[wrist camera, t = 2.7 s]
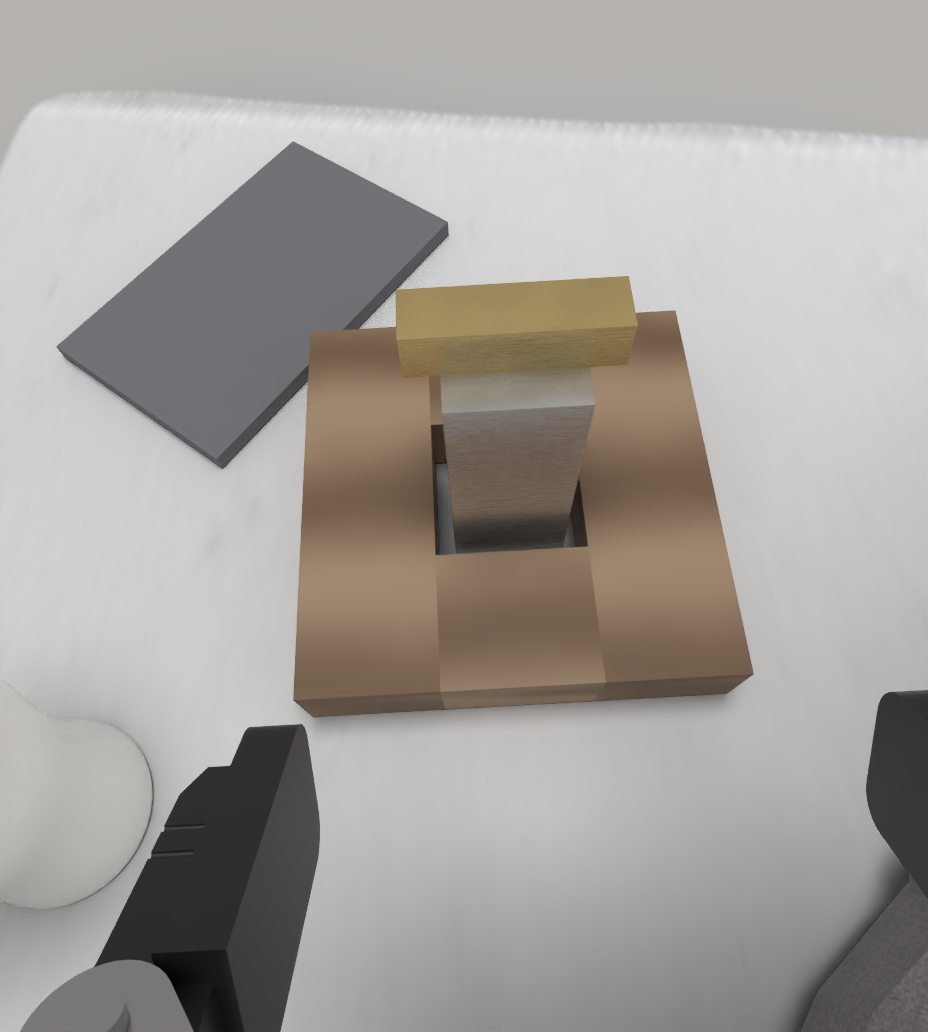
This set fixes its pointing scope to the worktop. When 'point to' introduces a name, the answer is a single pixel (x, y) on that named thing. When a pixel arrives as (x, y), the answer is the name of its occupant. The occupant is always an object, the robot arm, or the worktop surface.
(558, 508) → the t key
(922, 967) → the grey rounded bag
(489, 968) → the worktop surface
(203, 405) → the slate mat
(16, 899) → the beer glass
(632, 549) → the socket block
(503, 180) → the worktop surface
